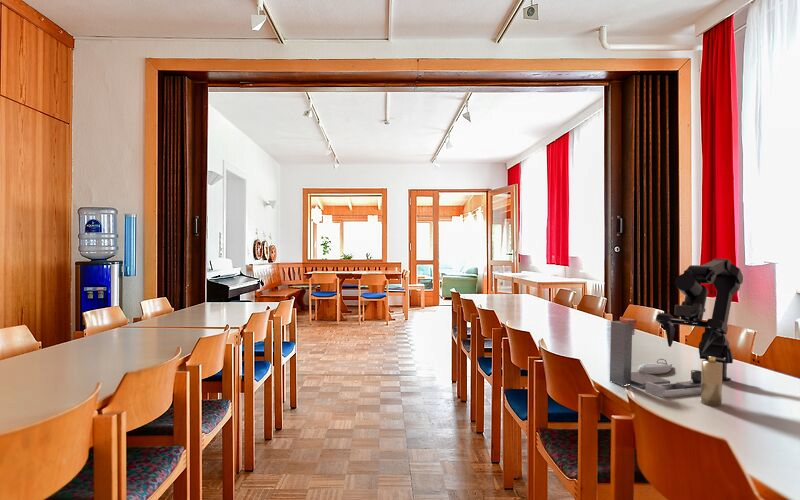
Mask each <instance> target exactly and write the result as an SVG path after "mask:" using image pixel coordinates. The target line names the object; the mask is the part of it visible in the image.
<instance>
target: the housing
mask: <svg viewBox="0 0 800 500" xmlns="http://www.w3.org/2000/svg"><path fill="white" fill-rule="evenodd" d="M715 358H716V357H713V356H709V360H706V359H701V370H700V371H701V394H700V404H703V405H706V406H708V407H715V408H716V407H722V403H723V402H722V401H723V399H722V398H723V381H722V367H723V363H721V362H718V361H715Z"/></svg>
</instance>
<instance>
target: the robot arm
mask: <svg viewBox="0 0 800 500" xmlns="http://www.w3.org/2000/svg"><path fill="white" fill-rule="evenodd" d="M743 282H744V276H743V273H742V270H741V268H739V267H738V266H736V265H734V264H733V263H732V261H731V260H730V259H727V258H714V259H711V261H709V262H706V263H705V264H701V265H698V264H697V265H694V264H693V265H689V266H688V267H687V268H686V269H685V270H684V271H683V273H682V274H679V275H678V276H677V277H676V278H675V280H674V285H675V287H676V288H677V289H678V291H680V292H681V293H682V294H683V296H684V300H683V301H682V302H681V304H675V305H674V314H673V315H674V316H677V317H674V316H673V315H672V314H671V313H664V312H659V313H657V314H656V316H655V321H656V322H657V323H659V325H661V326H662V327H663V328H664V330H665V334H666V335H665V336H666V339H667V346H668V347H670V348H671V347H672V344H673V341H674V337H675V332H676V328H675V326H676V325H680V326H681V325H682V326H690V327H697V328H704V332H703V333H702V334H701V341H699V342H698V353H699V359H700V360H709V356H713V357H716V358H715V361H718V362H721V363H723V367H722V382H723V381H731V380H732V378H731V377H727V376H728V375H727V369H728V364H733V360H734V354H733V352H732V350H731V347H730V342H729V339H728V338H727V337H728V336H726V335H727V334H728V331H729V330H728V329H729V328H728V320H729V315H730V311H731V305H732V300H733V296H734V295H735V294H736V293H737V292H738V291H740V287H741V284H743ZM703 284H706V285H710V284H711V285H713V286H714V288H715V290H716V294H715V295H716V296H715V300H714V305H713V310H712V316H711V318H708V319H707V320H706V321H704V320H703V318H704V317H703V316H704V313H706V301H707V297H708V295H709V290H708V288H707V287H706V285H703Z"/></svg>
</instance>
